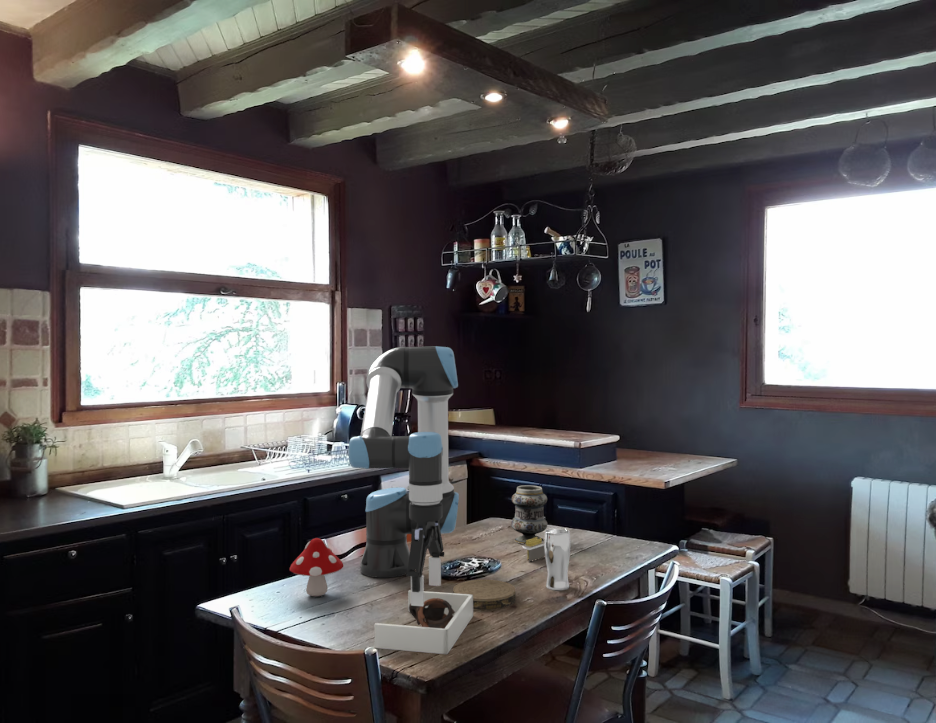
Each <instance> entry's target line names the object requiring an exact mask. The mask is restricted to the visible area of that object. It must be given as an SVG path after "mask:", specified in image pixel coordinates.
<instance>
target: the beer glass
mask: <svg viewBox="0 0 936 723" xmlns="http://www.w3.org/2000/svg"><path fill="white" fill-rule="evenodd" d="M570 532H571V531H570V530H569V529H567V528H562V527H561V528H557V527H554V528H553V527H552V528H546V529H545V530H544V551H545V557H544V558H545V563H546V569H547V577H546V578H547V579H546V583H545V585H546V586H545V587H546V588H547V589H548V590H551V591H565V590H569V588H570V583H569V578H568V576H569V575H568V574H569V572H568V570H569V563H570V559H571V533H570Z"/></svg>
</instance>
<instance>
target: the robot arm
mask: <svg viewBox="0 0 936 723" xmlns="http://www.w3.org/2000/svg"><path fill="white" fill-rule="evenodd" d="M365 382H366V386H367V389H368V390H367V395H366V401H365V408H364V412H363V413H364V414H363V418H362V425H361V432H360V435H358V436H352V437H350V439H349V443H348V461H349V462H348V463H349V465H350V466H351V467H352V468H354V469H366V470H369V469H371V470H372V469H408V478H409V479H408V486H407V487H401V486H399V487H389V488H388V487H387V488H382V489H378V490H376V491H372V492H371V493H370V494H368V495H367V497H366V500H365V501H366V502H365V503H366V505H365V511H364V512H365V513H366V514H365V515H366V516H365V519H366V520H365V523H366V524H365V526H366V529H365V530H366V531H365V533H366V534H365V536H366V537H365V539H366V540H365V541H366V545H365V548H364V552H363V555H362V557H361V561H360V573H361V574H362V575H364V576H366V577H371V578H395V577H396V578H397V577H401V576H405V575H406V577H410V590H411V605H412V606H424V590H425V584H424V583H425V580H424V579H425V575H423V573H424V572H423V571H424V565H425V561H426V556H427V550H428V552H429V557H428V586H435V587H441V586H442V574H441V573H442V567H441V566H442V565H441V561H442V560H441V557H445V551H444V543H443V539H442V534H444V535H445V534H451V533H452V532H454V531H455V529H456V526H457V525H456V524H457V519H458V510H459V508H458V507H459V498H460V494H459V492H456V491H455V486H454V485H453V484H452V483H451V482H450V481H449V476H450V475H449V399H451V397H452V396H453V395H454V389H456V388H458V387H459V382H458V375H457V367H456V358H455V354H454V351H453V349H452V348H451V347H448V346H447V347H446V346H437V345H436V346H433V345H432V346H398V347H395V348H391V349H389V350H387V351H385V352H383V353H382V354H381V355H380V356H378V357H377V358H376V360H374V362H373V363H372V364H371V365H370V367H369V370H368V371H367V375H366V380H365ZM400 389H412V390H411V392H412V393H411V394H412V396H413V397H415V399H416V401H417V432H413V433H411V434H410V435H408V436H407V435H405V436H403V435H402V436H400V435H399V436H396V435H393V427H394V418H395V417H394V416H395V411H396V410H395V409H396V400H397V393H398V392H399V391H400ZM392 435H393V436H392ZM407 535H411V537H410V538H411V539H410V540H411V542H410V546H408V540H407V539H408V538H407ZM409 547H410V549H409Z"/></svg>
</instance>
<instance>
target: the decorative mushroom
mask: <svg viewBox="0 0 936 723" xmlns="http://www.w3.org/2000/svg"><path fill="white" fill-rule="evenodd" d="M304 546H305V547H304V549H303V551H302V552H301V553H300V554H299V555H298V556H297V557H296V558H295V559H294V561H292V563H291V564H290V567H289V572H291V573H293V574H295V575H298V576H305V577H308V581H307V583H306V584H307V585H306V588H305V591H306V592H305V593H306V594H307V595H308V596H311V597H321V596H324V595H326V594H327V592H328V591H329V590H328V582H327V580H326V577H325V576H326V575H331V574H334V573H337V572H339V571H341V570H342V569H343V568H344V563H343V561H342V560H341V559H340V558H339V557H338V556H337V555H336V554H335V553H334V552H333V550H332V548H331V547H329V546H328V545H327V543H326V542H325V541H324V540H323V539H321V538H318V537H315V538H312V539H311V540H309V541H308V542H307V543H306V545H304Z"/></svg>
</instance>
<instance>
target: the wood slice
mask: <svg viewBox="0 0 936 723" xmlns="http://www.w3.org/2000/svg"><path fill="white" fill-rule="evenodd" d="M452 593H456V594H470V595H473V611H474V610H476V611H492V610H500V609H505V608H507V607H510V606H512V605H514V604H515V602H516V587H515V586H514V585H513V584H511V583H509V582H506V581H503V580H497V579H473V580H472V579H471V580H466V581H462V582H460V583H458V584H455V585H454V586H453V588H452Z"/></svg>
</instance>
